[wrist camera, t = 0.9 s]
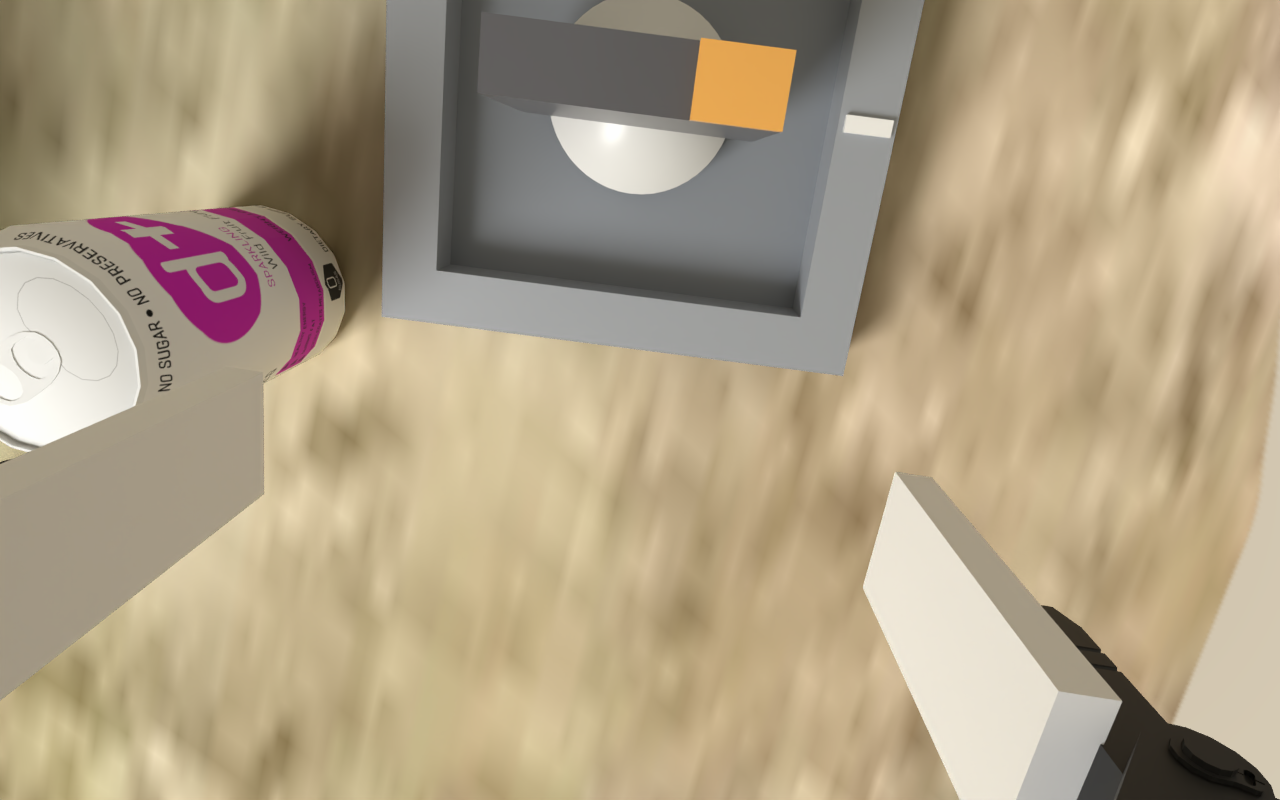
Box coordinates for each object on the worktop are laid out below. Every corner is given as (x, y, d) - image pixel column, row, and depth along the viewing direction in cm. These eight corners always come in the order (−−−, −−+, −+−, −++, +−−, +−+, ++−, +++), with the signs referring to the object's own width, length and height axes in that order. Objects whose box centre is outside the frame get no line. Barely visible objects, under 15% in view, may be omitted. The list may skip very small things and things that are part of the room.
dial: (526, 178, 34) (468, 181, 24) (540, -12, 32) (482, -96, 22) (737, 206, 34) (767, 220, 24) (767, 18, 32) (814, -52, 22)
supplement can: (276, 171, 36) (18, 171, 22) (383, 308, 38) (211, 392, 24) (161, 263, 37) (-150, 320, 23) (269, 391, 39) (44, 516, 25)
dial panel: (406, 303, 38) (379, 317, 34) (420, -205, 31) (388, -254, 27) (827, 357, 38) (844, 377, 34) (930, -137, 31) (964, -177, 28)
